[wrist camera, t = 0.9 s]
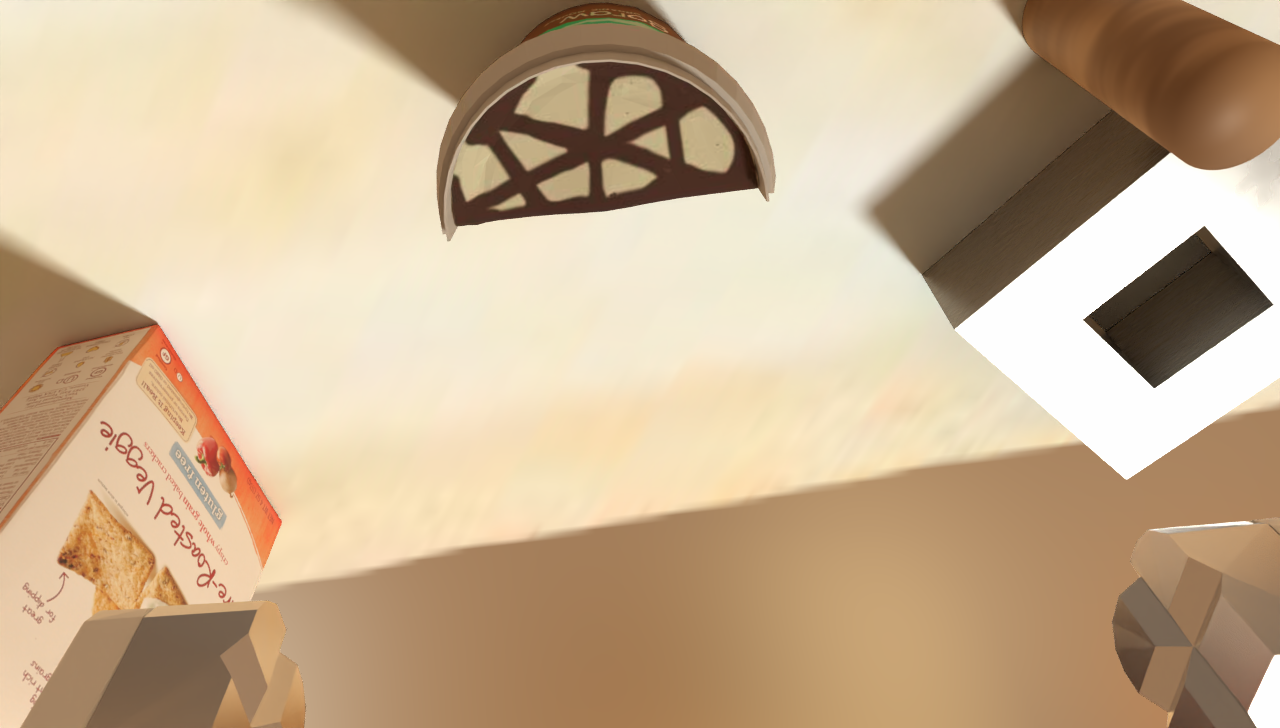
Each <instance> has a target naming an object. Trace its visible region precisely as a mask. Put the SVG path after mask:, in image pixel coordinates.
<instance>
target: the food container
mask: <svg viewBox="0 0 1280 728" xmlns="http://www.w3.org/2000/svg"><path fill="white" fill-rule="evenodd" d="M775 178H776V175H775V167H774V160H773V153H772V149H771V146H770V143H769V139H768V136H767V133H766V129H765V127H764V125H763V123H762V121H761V119H760V117H759V115H758V113H757V111H756V109H755V107H754V105H753V103H752V102H751V100H750V99H749V98H748V96H747V95H746V94H745V92H744V91H743V89H742V88H741V87H740V85H739V84H738V83H737V81H736V80H734V79H733V78H732V77H731V76H730V75H729V74H728V73H727V72H726V71H725V70H724V69H723V68H722V67H721V66H720V65H719V64H718V63H717V62H715V61H714V60H713V59H711V58H710V57H708V56H707V55H705V54H704V53H702V52H701V51H699V50H698V49H697V48H695V47H694V46H692V45H689V44H687V43H686V42H685V41H684V40H683V39H682V38H681V37H680V36H679V35H678V34H677V33H676V32H675V31H674V30H673V29H672V28H671V27H670V26H669V25H668V24H667V23H665V22H663V21H661V20H659V19H657V18H655V17H653V16H651V15H649V14H647V13H645V12H643V11H641V10H639V9H638V8H636V7H630V6H624V5H618V4H612V3H591V4H585V5H580V6H576V7H571V8H569V9H567V10H564V11H562V12H559V13H557V14H555V15H553V16H552V17H550V18H548V19H547V20H545V21H544V22H542V23H541V24H539V25H538V26H537V27H536V28H535V29H534V30H533V31H531V32H530V33H529V34H528V35H527V36H526V37H525V39H524V40H523V41H522V42H521V44H520V45H519V46H517V47H515V48H514V49H512V50H511V51H509V52H507V53H506V54H504V55H502V56H501V57H500V58H498V59H497V60H496V61H495V62H494V63H493V64H492V65H490V66H489V67H488V68H487V69H486V70H485V71H484V72H482V73H481V74H480V75H479V76H478V78H477V79H476V80H475V81H474V83H473V84H472V85H471V86H470V87H469V89H468V90H467V91H466V92H465V94H464V95H463V96H462V98H461V100H460V101H459V103H458V105H457V107H456V109H455V110H454V112H453V114H452V116H451V118H450V120H449V122H448V125H447V128H446V131H445V134H444V137H443V140H442V143H441V146H440V152H439V159H438V165H437V200H438V208H439V215H440V220H441V226H442V232H443V234H446V235H447V241H450V240H451V238H452V236H453V234H454V232H455V230H456V229H457V227H458V226H464V225H478V224H482V223H485V222H491V221H497V220H504V219H513V218H522V217H531V216H542V215H554V214H573V213H588V212H602V211H610V210H616V209H621V208H627V207H633V206H637V205H642V204H647V203H653V202H659V201H665V200H671V199H677V198H683V197H691V196H699V195H707V194H715V193H723V192H731V191H739V190H747V189H755V188H759V190H760V192H761V193H762V195H763V196H764V198H765V199H766V201H767V202H768V201H769V196H768V193H774V187H775Z"/></svg>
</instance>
